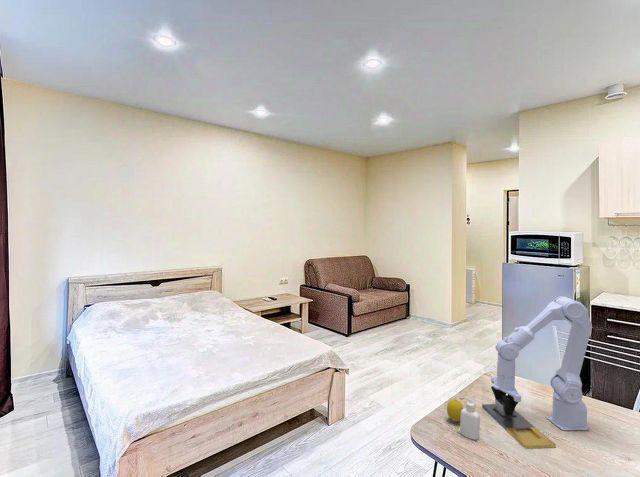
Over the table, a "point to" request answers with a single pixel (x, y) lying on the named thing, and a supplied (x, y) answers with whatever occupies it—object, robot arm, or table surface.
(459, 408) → the lemon
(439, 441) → the table surface
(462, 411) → the eye dropper bottle
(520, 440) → the rail
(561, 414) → the robot arm
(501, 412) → the grey cube with hole
